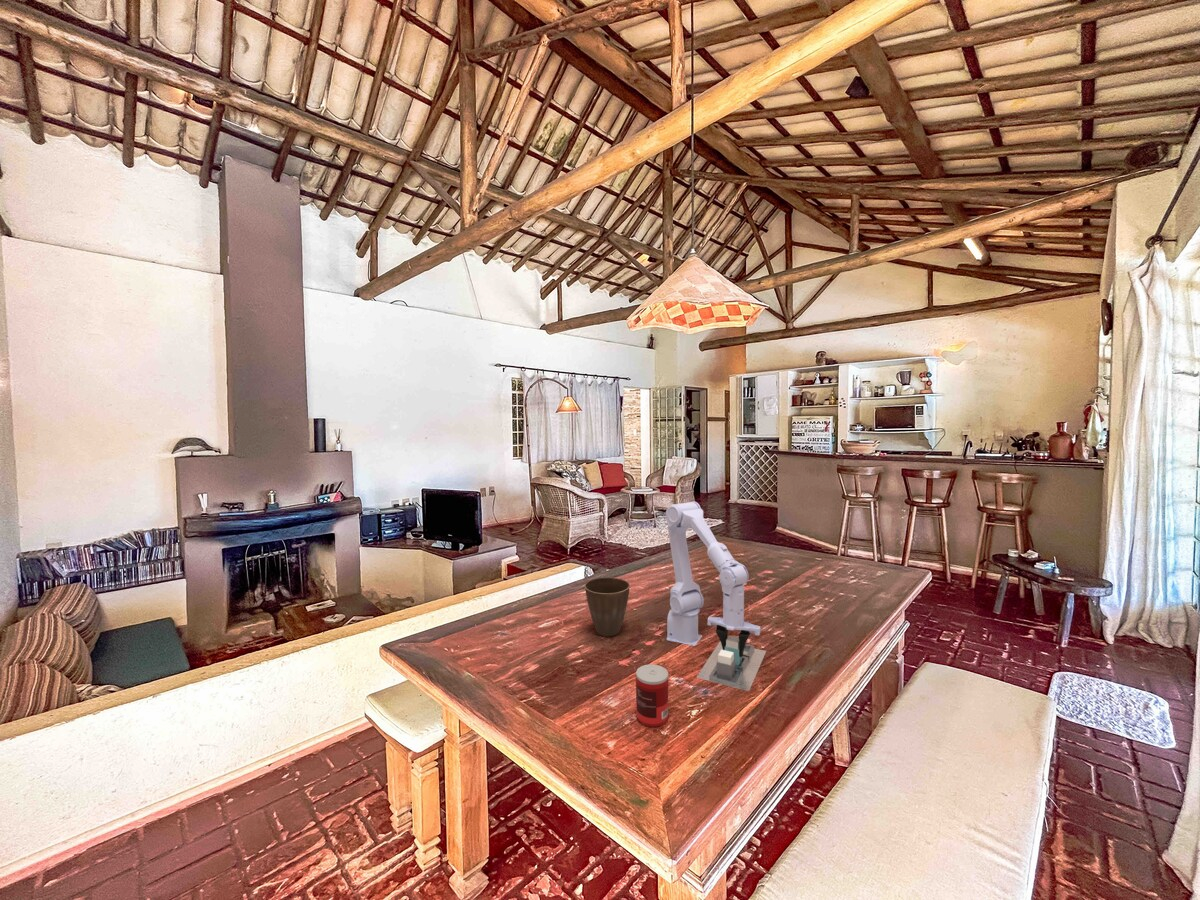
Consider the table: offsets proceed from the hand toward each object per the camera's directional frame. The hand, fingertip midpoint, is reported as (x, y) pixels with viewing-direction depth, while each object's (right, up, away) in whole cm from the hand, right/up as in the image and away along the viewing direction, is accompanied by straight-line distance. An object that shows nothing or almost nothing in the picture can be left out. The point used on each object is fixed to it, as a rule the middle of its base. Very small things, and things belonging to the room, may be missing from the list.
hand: (733, 653), depth 137 cm
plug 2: (-4, -3, -7) cm, 9 cm away
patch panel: (0, -3, 0) cm, 3 cm away
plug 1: (0, -2, 0) cm, 2 cm away
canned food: (-26, -6, -23) cm, 35 cm away
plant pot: (-36, -3, +23) cm, 42 cm away
